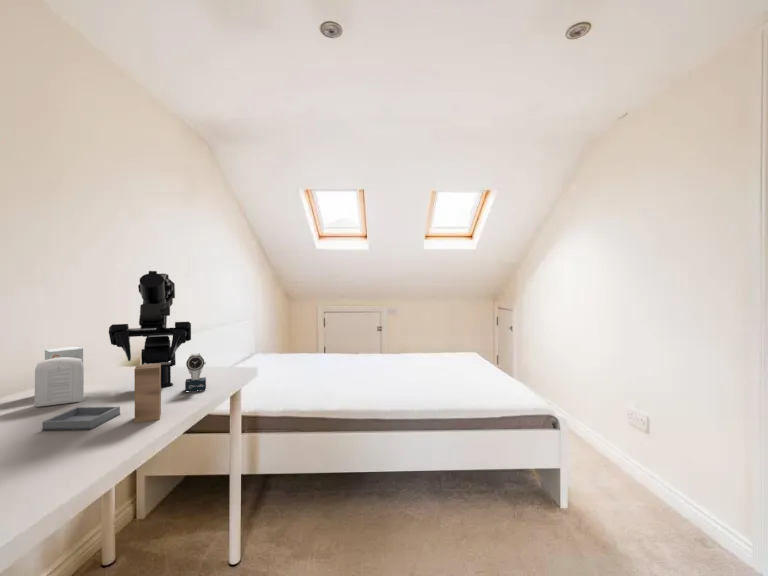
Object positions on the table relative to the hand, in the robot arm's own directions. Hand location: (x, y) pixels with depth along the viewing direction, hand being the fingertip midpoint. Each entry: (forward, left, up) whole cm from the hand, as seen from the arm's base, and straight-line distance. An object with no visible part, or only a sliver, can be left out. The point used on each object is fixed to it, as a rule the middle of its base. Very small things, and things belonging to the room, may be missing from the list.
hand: (150, 358), depth 99 cm
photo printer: (+12, -25, -13) cm, 31 cm away
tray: (+13, -3, -13) cm, 19 cm away
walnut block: (+3, +6, -13) cm, 15 cm away
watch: (-17, -9, -13) cm, 23 cm away
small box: (+8, -38, -13) cm, 42 cm away
